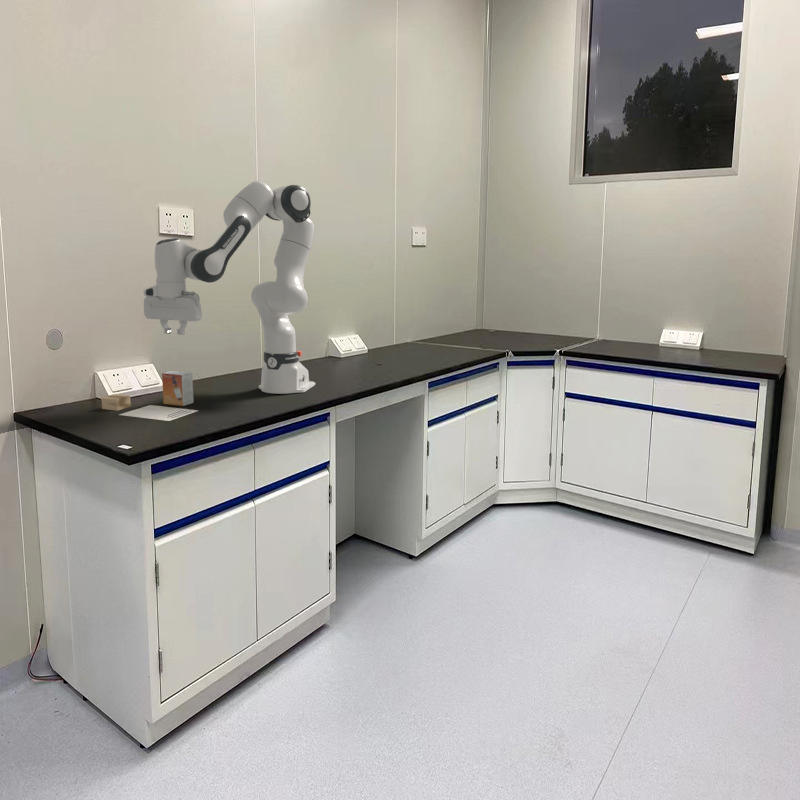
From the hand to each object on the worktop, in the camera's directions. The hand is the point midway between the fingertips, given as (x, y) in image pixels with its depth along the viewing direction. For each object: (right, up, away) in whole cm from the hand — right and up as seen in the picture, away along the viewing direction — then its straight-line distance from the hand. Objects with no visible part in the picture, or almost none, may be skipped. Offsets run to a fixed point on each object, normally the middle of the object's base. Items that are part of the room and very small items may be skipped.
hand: (174, 334), depth 211 cm
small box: (0, -23, +5) cm, 23 cm away
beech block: (-18, -24, -2) cm, 30 cm away
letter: (-2, -25, -8) cm, 27 cm away
